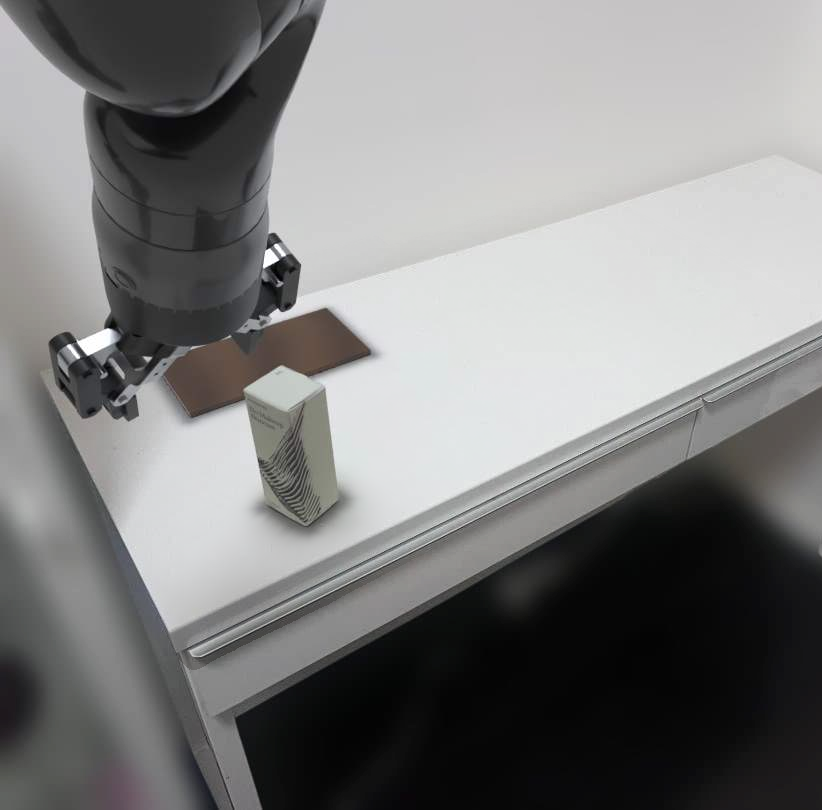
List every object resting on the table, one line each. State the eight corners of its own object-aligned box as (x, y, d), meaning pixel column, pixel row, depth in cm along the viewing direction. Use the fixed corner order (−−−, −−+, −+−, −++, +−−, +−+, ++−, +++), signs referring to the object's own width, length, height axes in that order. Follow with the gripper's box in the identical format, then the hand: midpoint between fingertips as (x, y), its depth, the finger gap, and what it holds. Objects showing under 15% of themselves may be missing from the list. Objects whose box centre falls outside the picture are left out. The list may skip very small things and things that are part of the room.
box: (264, 505, 71) (237, 387, 63) (301, 477, 74) (279, 361, 66) (308, 530, 69) (285, 411, 61) (344, 500, 72) (327, 383, 64)
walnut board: (190, 417, 80) (189, 413, 80) (155, 365, 87) (153, 360, 86) (371, 354, 90) (370, 349, 90) (326, 311, 97) (326, 307, 96)
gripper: (262, 131, 43) (244, 282, 57) (-15, 240, 36) (42, 384, 49) (349, 237, 43) (310, 364, 56) (87, 371, 35) (116, 479, 49)
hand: (185, 374), depth 53 cm, fingers open, 8 cm apart
